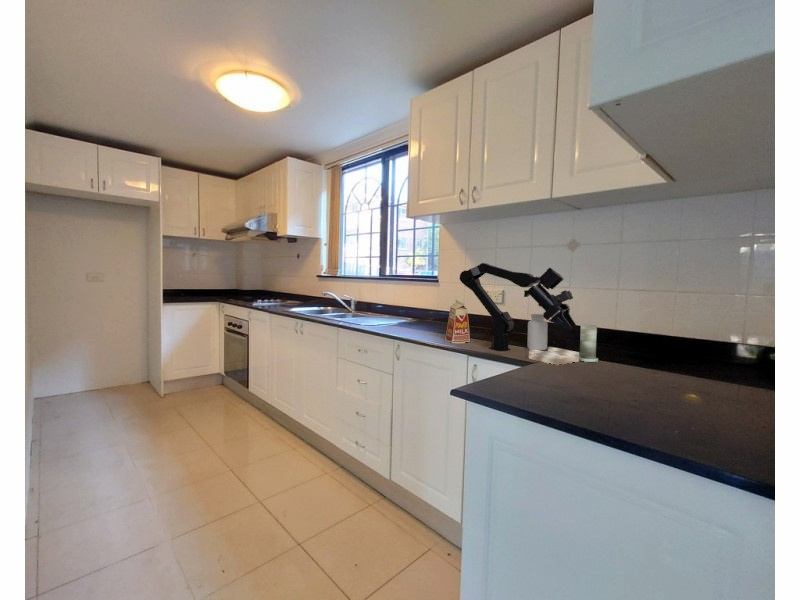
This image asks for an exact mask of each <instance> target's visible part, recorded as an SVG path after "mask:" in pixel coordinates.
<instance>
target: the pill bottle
mask: <svg viewBox="0 0 800 600" xmlns="http://www.w3.org/2000/svg"><path fill="white" fill-rule="evenodd" d="M530 318H531V320H528V322H527V340H526V341H527V344H526V347H527V349H528V350H529V349H535V350H540V351H547V350H548V326H549V324H548V322H547V320H545V318H544V317H543V313H532V314H531V315H530Z"/></svg>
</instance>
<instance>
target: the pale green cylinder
mask: <svg viewBox="0 0 800 600" xmlns="http://www.w3.org/2000/svg"><path fill="white" fill-rule="evenodd" d="M597 334H598V326H597V325H595V324H594V325H593V324H591V325H590V324H580V335H579V336H580V341H579V362H581V361H584V362H583V363H587V362H597V363H598V362H599V357H596V356H597Z"/></svg>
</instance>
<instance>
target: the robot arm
mask: <svg viewBox="0 0 800 600" xmlns="http://www.w3.org/2000/svg"><path fill="white" fill-rule="evenodd" d="M486 274H488V275H490V276H491V275H492V276H494V277H498V278H502V279H504V280H508V282H509V281H510V282H511V283H513V284H514V285H516V286H518V287H521V288H529V289H527V290H526V289H525V290H524V291H523V292H524V294H523V297H524V298H528V297H531V298H533V300H534V301H535V302H536V303H537V306H539V307H541V308H542V309H543V310H544V312H543V313H542V314H543V317H544V320H545V321H548V322H551V323H553V324H555V325H558V326H559V327H561V328H564V329H567V330H569V331H571V330H572V329H573V328H574V329H575V328H576V327H577V324H576V322H575V321H574V319H573V318H572V316H571V314H570V311H571V308H570V306H569V304H567V303H564V302H566V301H569V300H573V299H574V297H573V294H572V292H571V291H570V290H565V289H564V290H563V291H561V292H560V293H559V294H556V295H554V294H551V293H550V292H549V291H548V290H554V289H555V288H556V287H557V286H558V285H559V284H561V283H562V281H564V277H563V276H562V275H561V274H560V273H559V272H557V271H556V270H555V269H553V268H552V267H548V268H547V269H546V271H545V272H544V273H543V274H541V276H534V275H533V274H531V273H527V272H519V271H517V272H516V271H512V270H508V269H505V268H501V267H498V266H495V265H492V264H489V263H486V262H485V263H484V262H482V263H480V264H478V265H477V266H474V267H471V268H470V269H468V270H463V271H461V273H460V274H459V277H458V278H459V281H460V283H462V284H463V285H464V286H465V287H467V288H468V289H469V290H471V291H472V292H473V294H474V295H475V296H476V298H477V299H478V300H479V302H480V303H481V304H482V306H483V307H484V309H485V310H486V311H487V312H488V313H489V315H490V317H491V320H492V323H493V325H494V326H493V327H492V328H491V329H490V330H489V333H490V336H491V346H489V347H488V349H489V350H490V349H491V350H495V351H499V352H502V351H510V350H511V348H510V347H509V335H510V331H512V330H513V329H514V325H515V322H514V321H513V320H514V318H513V317H511V315H510V314H509V312H508V311H502V310H501V309H500V308H499V307H498V305H497V304H496V303H495V302H494V300H493V299H492V298H491V296H490V295H489V294H488V292H487V291H486V290H485V289H484V287H483V286H482V283H481V281H480V278H481V277H483V276H484V275H486ZM535 284H536V285H535Z"/></svg>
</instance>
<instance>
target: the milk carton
mask: <svg viewBox="0 0 800 600" xmlns="http://www.w3.org/2000/svg"><path fill="white" fill-rule="evenodd" d="M464 305H465V303H463V302H461V301H459V300H458V299H455V302H454V303H452V304H451V305H450V308H449V315H448V319H447V320H448V321H447V327H446V332H445V337H444V341H445V340H447V341H449V342H452V343H451V344H466V343H465V342H470V324H469V316H468V315H469V313H468V309H467V308H466V306H464ZM449 342H448V343H449Z"/></svg>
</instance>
